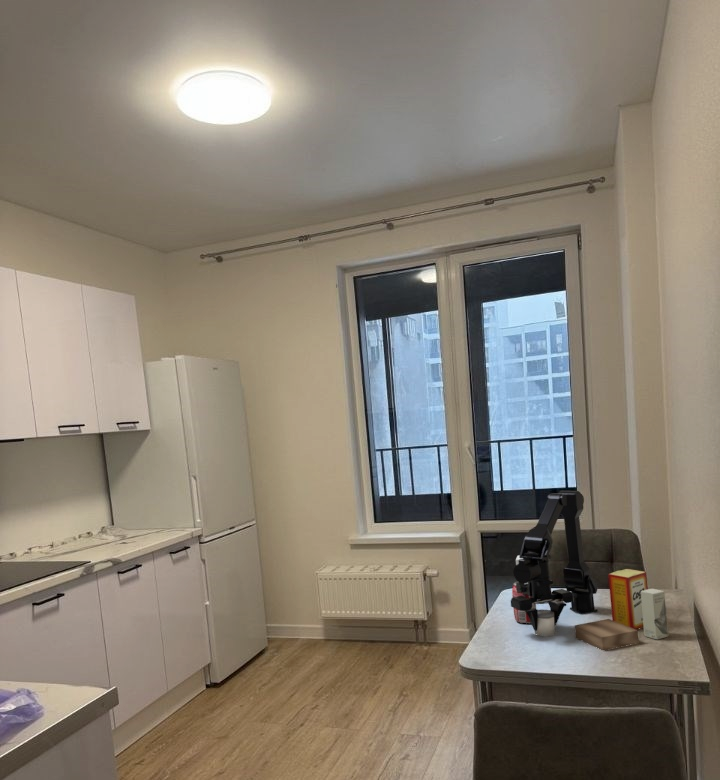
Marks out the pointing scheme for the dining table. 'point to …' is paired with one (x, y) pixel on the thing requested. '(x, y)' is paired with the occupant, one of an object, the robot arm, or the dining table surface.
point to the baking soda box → (627, 596)
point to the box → (654, 613)
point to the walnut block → (606, 634)
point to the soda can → (518, 614)
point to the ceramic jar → (545, 623)
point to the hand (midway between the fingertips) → (544, 628)
